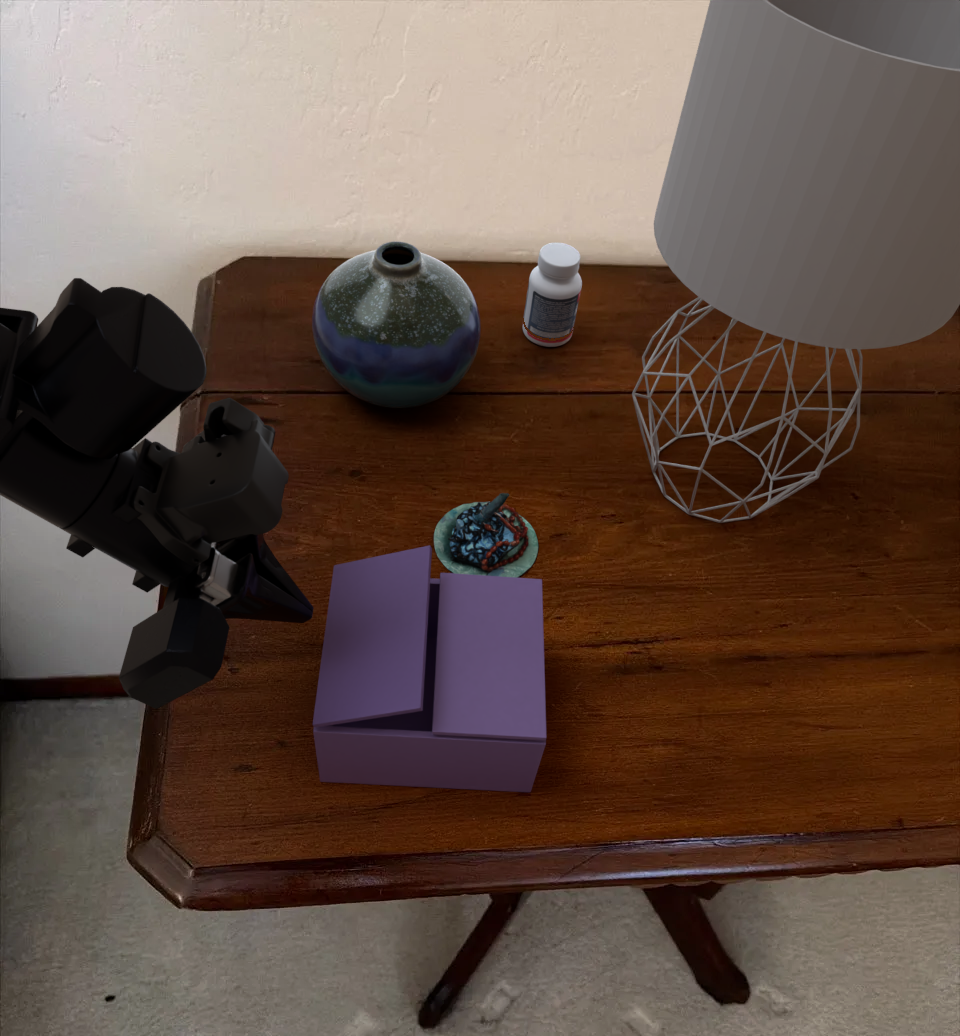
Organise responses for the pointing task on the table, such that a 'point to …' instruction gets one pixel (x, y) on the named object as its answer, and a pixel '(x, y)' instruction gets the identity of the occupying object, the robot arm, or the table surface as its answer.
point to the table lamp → (813, 193)
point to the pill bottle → (553, 295)
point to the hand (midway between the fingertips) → (308, 616)
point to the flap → (375, 638)
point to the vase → (396, 326)
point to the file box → (460, 698)
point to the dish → (486, 540)
